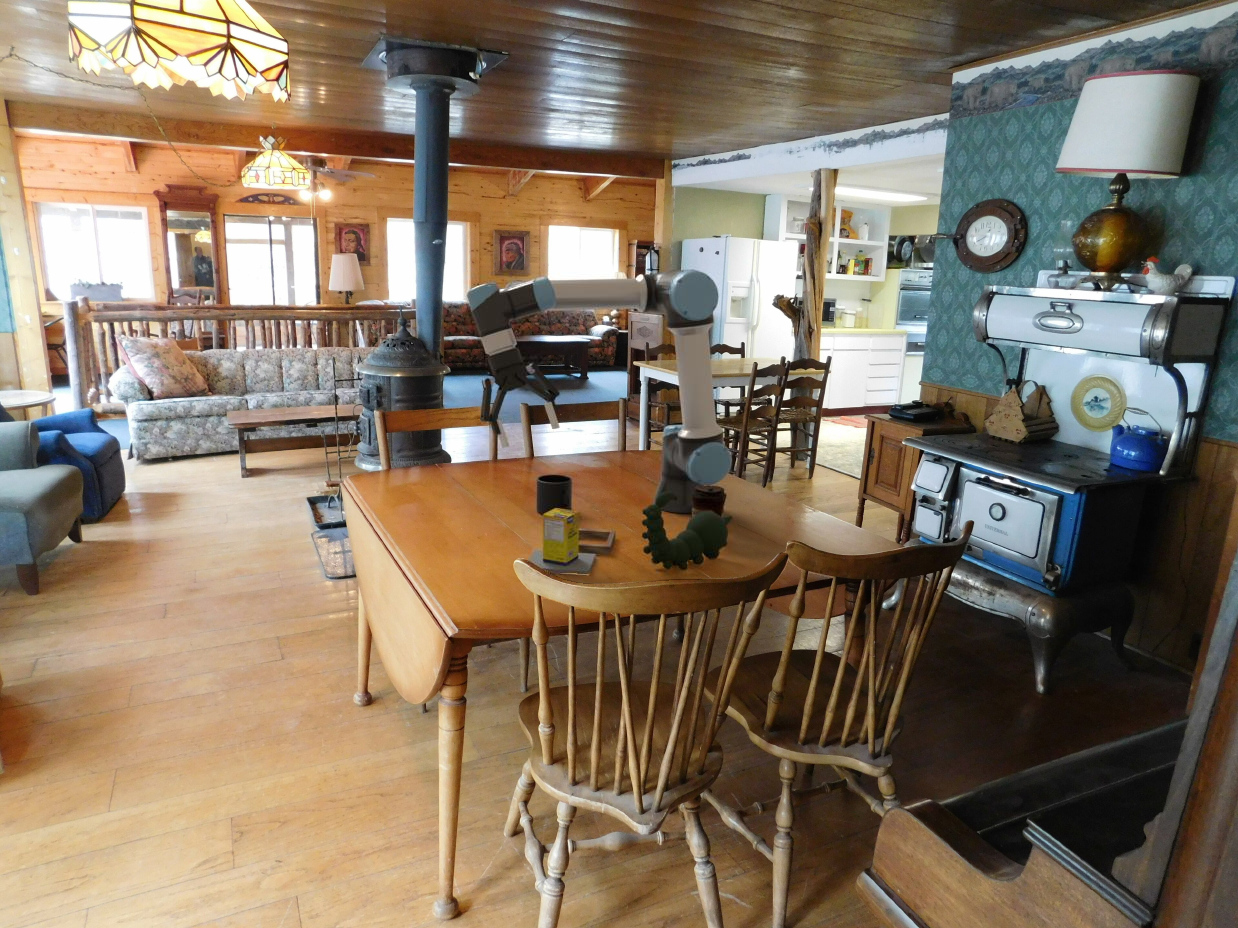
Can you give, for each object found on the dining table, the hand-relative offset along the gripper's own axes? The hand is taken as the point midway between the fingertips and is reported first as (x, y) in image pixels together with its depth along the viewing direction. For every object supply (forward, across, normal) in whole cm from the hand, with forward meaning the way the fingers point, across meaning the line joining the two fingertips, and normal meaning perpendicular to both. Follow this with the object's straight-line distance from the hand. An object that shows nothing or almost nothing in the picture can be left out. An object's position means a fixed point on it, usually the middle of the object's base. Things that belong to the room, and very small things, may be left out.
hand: (531, 437), depth 187 cm
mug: (+24, -9, -21) cm, 33 cm away
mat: (+27, +9, +14) cm, 32 cm away
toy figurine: (+36, -15, +26) cm, 47 cm away
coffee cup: (+37, -30, +14) cm, 49 cm away
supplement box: (+26, +9, +14) cm, 31 cm away
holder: (+28, -2, +6) cm, 29 cm away
